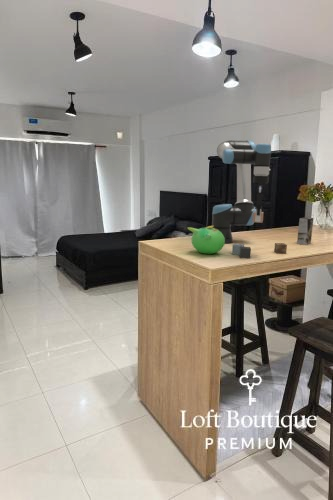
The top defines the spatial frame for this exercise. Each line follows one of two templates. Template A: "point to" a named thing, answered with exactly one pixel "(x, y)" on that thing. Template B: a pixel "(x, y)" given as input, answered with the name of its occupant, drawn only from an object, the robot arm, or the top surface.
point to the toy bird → (207, 239)
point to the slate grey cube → (236, 248)
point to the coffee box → (305, 231)
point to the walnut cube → (280, 248)
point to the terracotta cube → (261, 217)
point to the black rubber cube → (245, 252)
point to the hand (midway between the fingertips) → (257, 221)
